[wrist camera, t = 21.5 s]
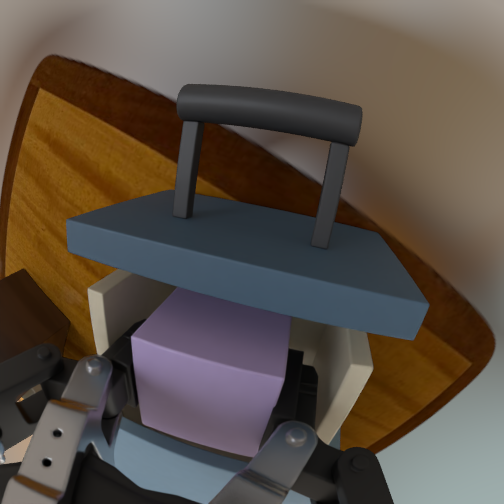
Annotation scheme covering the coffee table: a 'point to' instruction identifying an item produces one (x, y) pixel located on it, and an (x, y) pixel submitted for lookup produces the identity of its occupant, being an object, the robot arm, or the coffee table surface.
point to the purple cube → (210, 370)
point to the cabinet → (179, 465)
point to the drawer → (256, 252)
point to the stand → (27, 317)
